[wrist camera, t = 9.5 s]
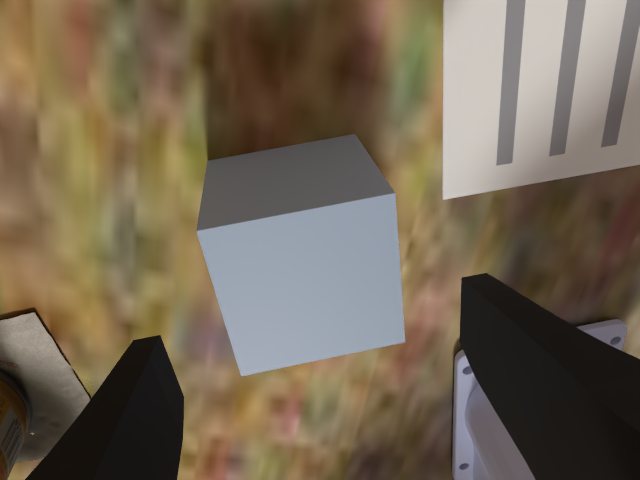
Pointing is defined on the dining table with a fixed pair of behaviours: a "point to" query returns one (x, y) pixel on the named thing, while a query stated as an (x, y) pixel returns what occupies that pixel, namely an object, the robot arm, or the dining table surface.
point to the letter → (538, 91)
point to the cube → (302, 253)
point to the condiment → (33, 392)
